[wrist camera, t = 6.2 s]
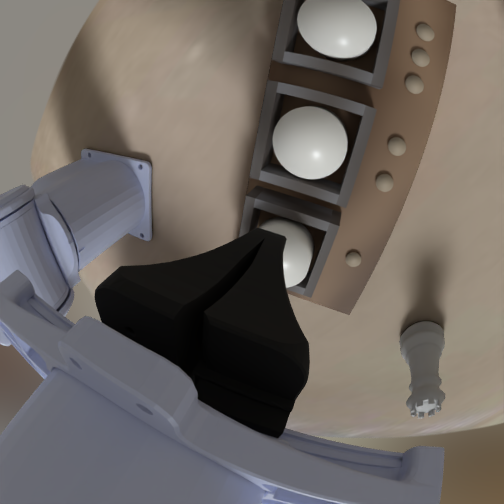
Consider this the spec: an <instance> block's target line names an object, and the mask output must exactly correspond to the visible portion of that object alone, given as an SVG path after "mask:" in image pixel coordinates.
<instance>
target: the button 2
mask: <svg viewBox="0 0 504 504" xmlns="http://www.w3.org/2000/svg"><path fill="white" fill-rule="evenodd" d="M297 23H298V28H299V31H300V33H301V35H302V37H303V38H304V40H305V41H306V42H307V43H308V44H309V45H310V46H311V47H312V48H313V49H314V50H315V51H316V52H317V53H318V54H320V55H321V56H323V57H325V58H327V59H330V60H334V61H341V62H347V61H353V60H356V59H359V58H360V57H362V56H364V55H365V54H366V53H367V52H368V51H369V50H370V48H371V47H372V45H373V42H374V39H375V35H376V30H377V25H376V20H375V17H374V15H373V13H372V11H371V10H370V8H369V7H368V6H367V5H366V4H365V3H364V2H363V1H361V0H306V1H305V2H304V3H303V4H302V6H301V8H300V10H299V12H298V17H297Z"/></svg>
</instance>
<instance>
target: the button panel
mask: <svg viewBox="0 0 504 504" xmlns="http://www.w3.org/2000/svg"><path fill="white" fill-rule="evenodd" d="M305 1H306V0H284V1H283V6H282V11H281V16H280V20H279V25H278V30H277V35H276V40H275V45H274V50H273V55H272V60H271V65H270V70H269V75H268V80H267V85H266V90H265V95H264V100H263V106H262V111H261V116H260V122H259V127H258V132H257V138H256V143H255V148H254V154H253V159H252V165H251V170H250V176H249V182H248V188H247V193H246V198H245V204H244V210H243V216H242V221H241V227H240V233H239V237H241V236H243V235H245V234H247V233H248V232H250V231H252V230H254V229H256V228H259V226H260V225H261V224H262V223H263V222H265V221H266V220H268V219H271V218H274V217H285V218H288V219H291V220H294V221H297V222H299V223H301V224H302V225H303V226H305V227H306V228H307V230H308V231H309V232H310V234H311V236H312V238H313V241H314V253H313V256H312V260H311V263H310V266H309V269H308V272H307V274H306V276H305V278H304V279H303V280H302V281H301V282H300V283H299V284H297V285H295V286H292V287H288V288H286V289H287V293H288V294H291V295H293V296H296V297H299V298H302V299H305V300H308V301H310V302H313V303H316V304H319V305H322V306H325V307H328V308H330V309H333V310H336V311H339V312H342V313H345V314H348V315H350V313H351V311H352V309H353V308H354V306H355V304H356V302H357V300H358V299H359V297H360V295H361V293H362V291H363V289H364V288H365V286H366V284H367V282H368V280H369V278H370V276H371V274H372V272H373V270H374V268H375V266H376V264H377V262H378V260H379V258H380V256H381V254H382V252H383V250H384V248H385V246H386V244H387V242H388V240H389V237H390V235H391V233H392V231H393V229H394V226H395V224H396V222H397V220H398V217H399V215H400V213H401V210H402V208H403V206H404V203H405V201H406V198H407V196H408V193H409V191H410V188H411V186H412V183H413V181H414V178H415V175H416V173H417V170H418V167H419V164H420V161H421V159H422V156H423V153H424V150H425V147H426V144H427V141H428V138H429V134H430V131H431V128H432V125H433V121H434V118H435V114H436V111H437V107H438V103H439V99H440V95H441V91H442V87H443V83H444V79H445V74H446V69H447V65H448V59H449V54H450V49H451V43H452V36H453V29H454V21H455V12H456V5H455V4H453V3H451V2H449V1H447V0H361V1H363V2H364V3H365V4H366V5H367V6H368V7H369V8H370V10H371V11H372V13H373V15H374V17H375V20H376V25H377V30H376V35H375V39H374V42H373V45H372V47H371V48H370V50H369V51H368V52H367V53H366V54H365V55H364V56H362V57H360V58H359V59H356V60H353V61H347V62H341V61H334V60H330V59H327V58H325V57H323V56H321V55H320V54H318V53H317V52H316V51H315V50H314V49H313V48H312V47H311V46H310V45H309V44H308V43H307V42H306V41H305V40H304V38H303V37H302V35H301V33H300V31H299V28H298V23H297V17H298V12H299V10H300V8H301V6H302V4H303V3H304V2H305ZM305 106H320V107H324V108H327V109H329V110H331V111H332V112H334V113H335V114H336V115H337V116H338V117H339V118H340V119H341V120H342V122H343V123H344V125H345V127H346V130H347V134H348V146H347V152H346V156H345V159H344V161H343V163H342V164H341V166H340V167H339V168H338V169H337V170H336V171H335V172H333V173H332V174H330V175H329V176H326V177H324V178H320V179H305V178H301V177H298V176H296V175H294V174H292V173H290V172H289V171H288V170H286V169H285V168H284V167H283V166H282V165H281V163H280V162H279V160H278V159H277V157H276V155H275V152H274V148H273V133H274V129H275V127H276V125H277V123H278V121H279V120H280V119H281V118H282V117H283V116H284V115H285V114H286V113H288V112H289V111H291V110H293V109H296V108H300V107H305Z"/></svg>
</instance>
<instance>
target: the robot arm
mask: <svg viewBox="0 0 504 504" xmlns="http://www.w3.org/2000/svg"><path fill="white" fill-rule="evenodd" d="M141 165H142V167H143V168H142V167H141ZM151 175H152V167H151V164H150V163H149V162H148V161H144V160H139V159H135V158H130V157H126V156H121V155H116V154H111V153H106V152H101V151H96V150H91V149H83V150H82V151H81V159H80V160H78V161H75V162H73V163H71V164H68V165H66V166H64V167H62V168H59V169H57V170H55V171H53V172H51V173H49V174H47V175H45V176H43V177H41V178H39V179H38V180H36V181H35V182H34V183H33V185H32V186H31V187H28V186H26V185H21V186H18V187H16V188H13V189H11V190H9V191H7V192H5V193H3V194H1V195H0V344H2V345H4V346H9V345H11V344H12V345H13V346H14V347H15V348H16V349H17V350H18V352H19V353H20V354H21V355H22V356H23V357H24V358H25V359H26V361H27V362H28V363H29V364H30V365H31V366H32V367H33V368H34V369H35V370H36V371H37V372H38V373H39V374H40V375H41V376H42V377H43V378H44V379H45V380H44V381H43V382H42V383H41V384H40V386H39V387H38V388H37V389H36V390H35V391H34V393H33V394H32V395H31V397H30V398H29V399H28V400H27V401H26V403H25V404H24V405H23V406H22V408H21V409H20V410H19V411H18V413H17V414H16V415H15V416H14V418H13V419H12V420H11V422H10V423H9V424H8V426H7V427H6V428H5V429H4V431H3V432H2V434H1V435H0V504H439V503H440V496H441V488H442V479H443V466H444V448H443V447H431V446H417V447H413V448H411V449H409V450H407V451H406V452H405V453H398V452H390V451H383V450H376V449H370V448H364V447H359V446H354V445H349V444H344V443H339V442H335V441H330V440H326V439H322V438H318V437H314V436H311V435H307V434H303V433H300V432H296V431H293V430H290V429H286V428H285V426H286V423H287V420H288V417H289V414H290V412H291V411H292V409H293V406H294V403H295V400H296V398H297V397H298V395H299V394H300V392H301V391H302V389H303V388H304V387H305V385H306V383H307V380H308V375H309V363H310V360H309V343H308V341H307V339H306V338H305V336H304V334H303V332H302V330H301V328H300V326H299V324H298V322H297V320H296V317H295V315H294V312H293V309H292V307H291V304H290V301H289V297H288V293H287V289H286V284H285V278H284V269H283V252H284V248H285V244H286V240H287V239H286V237H285V236H283V235H280V234H277V233H274V232H271V231H267V230H264V229H261V228H256V229H254V230H252V231H250V232H248V233H247V234H245V235H243V236H241V237H239V238H237V239H235V240H233V241H231V242H229V243H227V244H225V245H223V246H220V247H218V248H216V249H214V250H211V251H208V252H206V253H203V254H199V255H196V256H193V257H190V258H185V259H181V260H176V261H172V262H166V263H160V264H152V265H140V266H120V267H119V268H118V269H117V270H116V271H115V272H113V273H112V274H111V275H110V276H109V277H108V278H107V279H106V280H104V281H103V282H102V283H101V284H100V285H99V286H98V287H97V289H96V290H95V302H96V306H97V309H98V312H99V315H100V318H101V321H102V322H100V321H98V320H96V319H93V318H91V317H88V316H84V317H83V318H81V319H80V320H79V321H78V322H77V323H76V324H74V323H73V322H71V321H70V320H69V319H67V318H66V317H65V316H66V314H67V313H68V311H69V309H70V307H71V305H72V302H73V300H74V291H73V287H74V286H75V285H76V284H77V283H78V282H80V280H81V279H80V277H79V274H78V272H79V271H80V270H81V269H83V268H84V267H85V266H86V265H87V264H89V263H90V262H91V261H92V260H94V259H95V258H96V257H97V256H99V255H100V254H101V253H102V252H104V251H105V250H106V249H108V248H109V247H110V246H111V245H113V244H114V243H115V242H117V241H118V240H119V239H121V238H122V237H123V236H125V235H126V234H127V233H128V234H131V235H133V236H135V237H138V238H140V239H143V240H145V241H150V240H151V239H152V216H151Z"/></svg>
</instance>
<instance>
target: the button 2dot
mask: <svg viewBox="0 0 504 504" xmlns="http://www.w3.org/2000/svg"><path fill="white" fill-rule="evenodd" d="M347 146H348V134H347V130H346V127H345V125H344V123H343V122H342V120H341V119H340V118H339V117H338V116H337V115H336V114H335V113H334V112H332V111H331V110H329V109H327V108H324V107H320V106H305V107H300V108H296V109H293V110H291V111H289V112H288V113H286V114H285V115H284V116H283V117H282V118H281V119H280V120H279V121H278V123H277V125H276V127H275V129H274V133H273V148H274V152H275V155H276V157H277V159H278V160H279V162H280V163H281V165H282V166H283V167H284V168H285V169H286V170H288V171H289V172H290V173H292V174H294V175H296V176H298V177H301V178H305V179H320V178H324V177H326V176H329V175H330V174H332V173H333V172H335V171H336V170H337V169H338V168H339V167H340V166H341V164H342V163H343V161H344V159H345V156H346V152H347Z"/></svg>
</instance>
